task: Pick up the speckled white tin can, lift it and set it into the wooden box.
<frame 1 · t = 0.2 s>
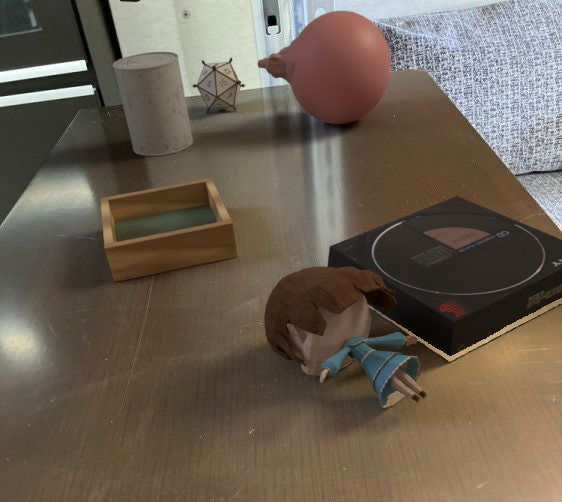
speckled white tin can: (163, 146, 98), on the table
balloon: (326, 123, 100), on the table
game die: (222, 110, 110), on the table
figurine: (345, 373, 51), on the table
portable cd player: (449, 287, 60), on the table
wooden box: (169, 242, 72), on the table
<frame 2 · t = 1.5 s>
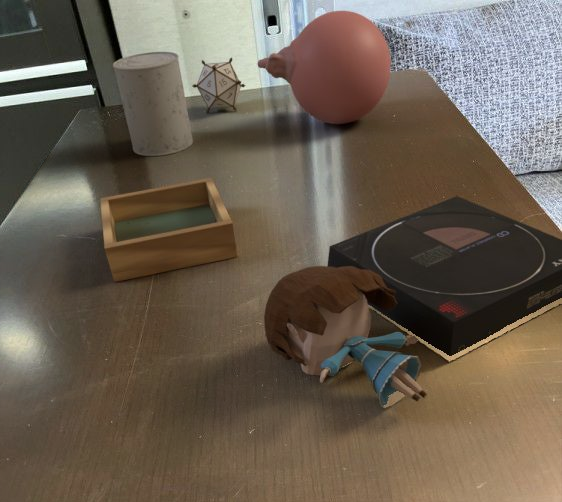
nothing on the table moved.
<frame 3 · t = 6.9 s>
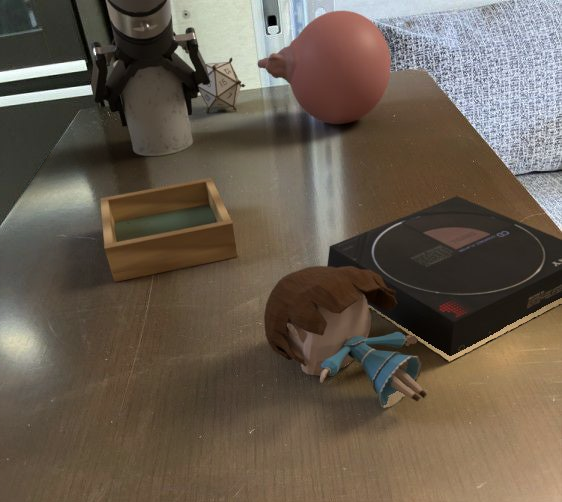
hand: (155, 112, 98), 4 cm above the table, tool tilted 45°, fingers closed on speckled white tin can, 9 cm apart
speckled white tin can: (163, 146, 98), on the table, touching gripper
everything else where it was.
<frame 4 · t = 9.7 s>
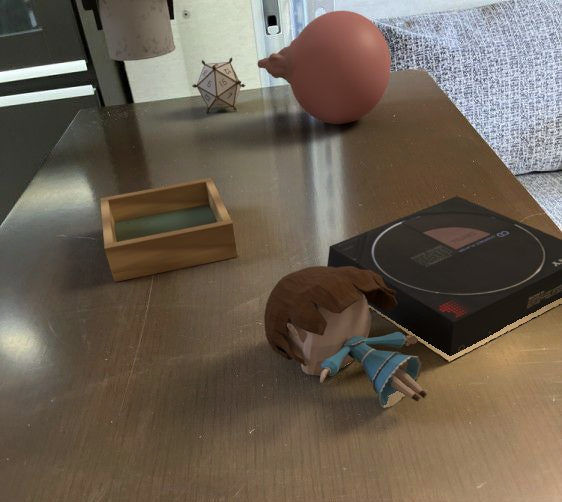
hand: (134, 16, 89), 18 cm above the table, tool tilted 45°, fingers closed on speckled white tin can, 9 cm apart
speckled white tin can: (142, 53, 90), point 13 cm above the table, touching gripper
everything else where it was.
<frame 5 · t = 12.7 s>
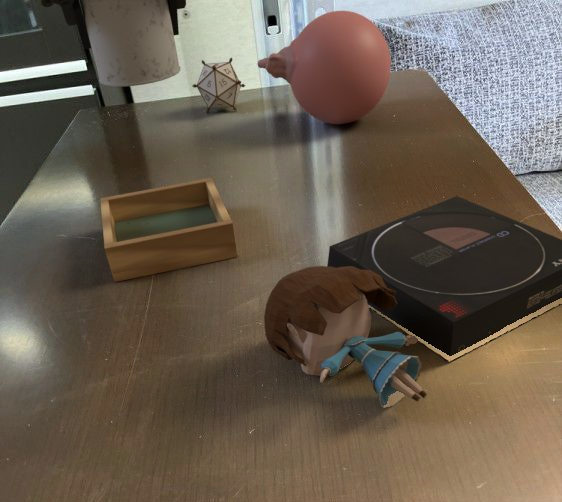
hand: (129, 31, 73), 19 cm above the table, tool tilted 45°, fingers closed on speckled white tin can, 9 cm apart
speckled white tin can: (140, 76, 73), point 15 cm above the table, touching gripper
everything else where it was.
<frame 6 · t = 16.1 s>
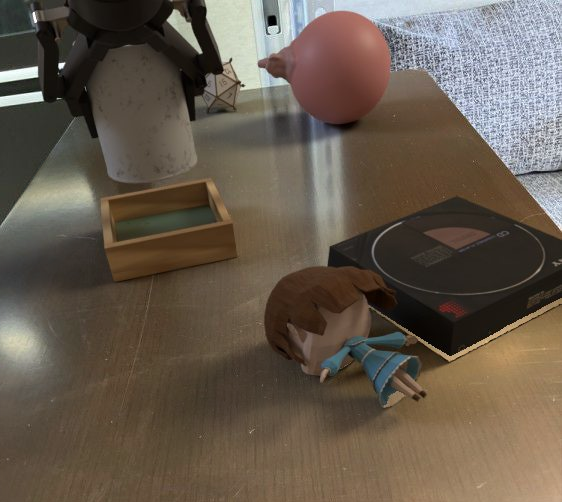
hand: (141, 117, 66), 13 cm above the table, tool tilted 45°, fingers closed on speckled white tin can, 9 cm apart
speckled white tin can: (153, 167, 66), point 9 cm above the table, touching gripper
everything else where it was.
when the fingers open (5 cm above the table, at t = 18.8 s): speckled white tin can stays where it is, resting on wooden box.
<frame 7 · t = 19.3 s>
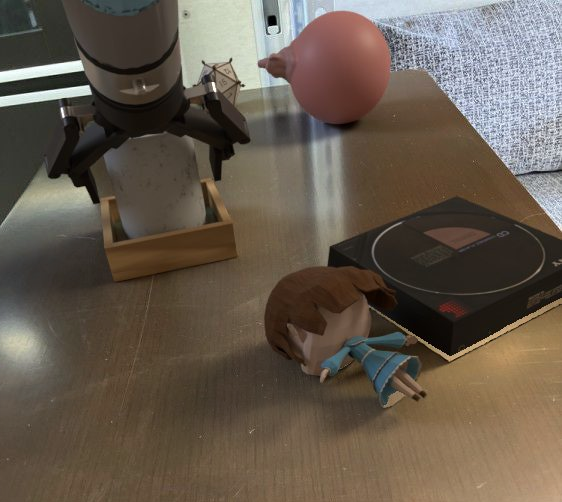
hand: (155, 181, 70), 6 cm above the table, tool tilted 45°, fingers open, 13 cm apart
speckled white tin can: (168, 234, 71), point 1 cm above the table, touching wooden box
everything else where it was.
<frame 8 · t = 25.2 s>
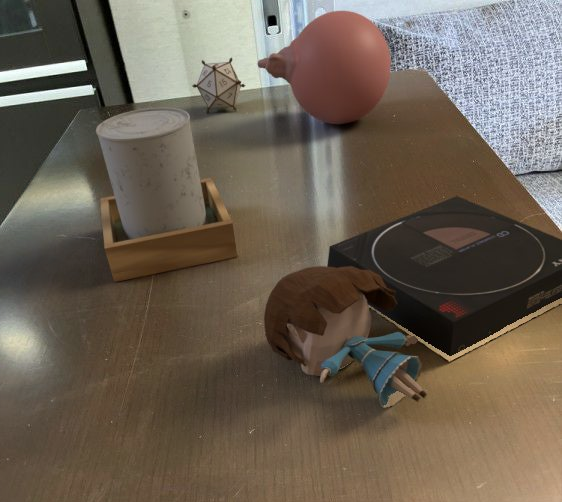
nothing on the table moved.
at the end: speckled white tin can 0.1 cm off-centre in the wooden box, point 1.0 cm above the wooden box's base; speckled white tin can tilted 0°; the gripper is holding nothing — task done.
